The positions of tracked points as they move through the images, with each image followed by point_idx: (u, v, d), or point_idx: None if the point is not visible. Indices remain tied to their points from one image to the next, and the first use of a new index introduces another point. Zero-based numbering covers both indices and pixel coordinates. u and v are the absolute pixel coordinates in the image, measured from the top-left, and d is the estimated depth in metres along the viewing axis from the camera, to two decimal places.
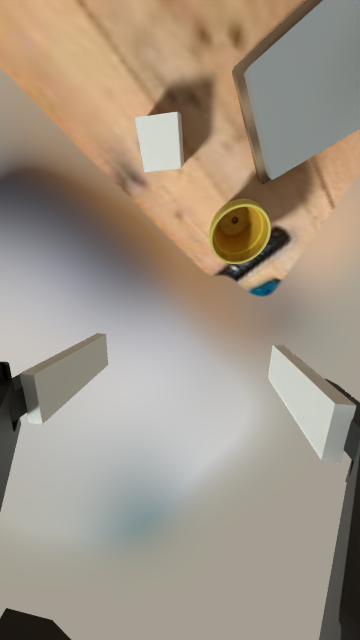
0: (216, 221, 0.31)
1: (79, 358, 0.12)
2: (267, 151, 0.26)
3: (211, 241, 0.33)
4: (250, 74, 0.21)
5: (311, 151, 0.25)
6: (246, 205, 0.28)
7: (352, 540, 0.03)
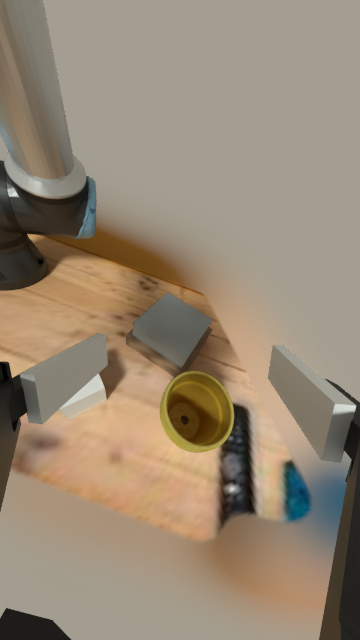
0: (164, 402, 0.25)
1: (79, 358, 0.12)
2: (170, 346, 0.33)
3: (173, 429, 0.23)
4: (136, 324, 0.35)
5: (196, 337, 0.36)
6: (182, 374, 0.28)
7: (352, 540, 0.03)
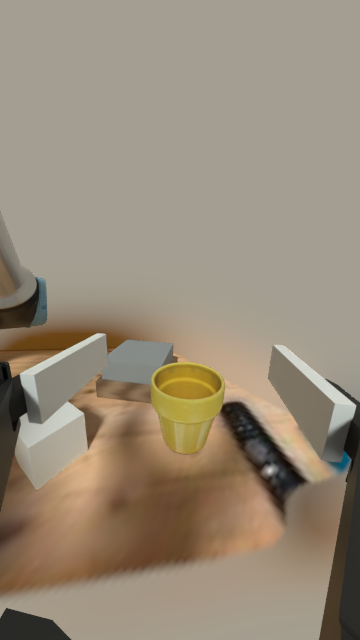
0: (153, 384, 0.24)
1: (79, 358, 0.12)
2: (142, 364, 0.34)
3: (170, 396, 0.22)
4: None
5: (164, 354, 0.39)
6: (162, 367, 0.29)
7: (352, 540, 0.03)
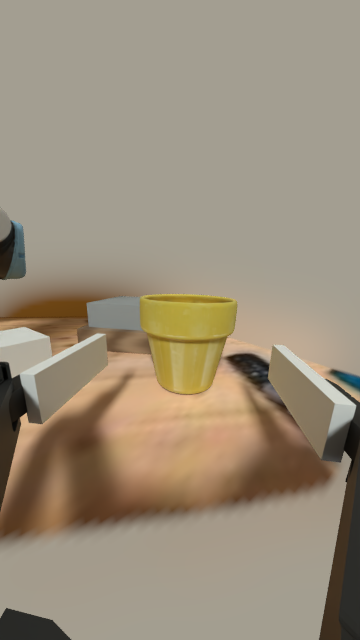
0: (142, 298, 0.18)
1: (79, 358, 0.12)
2: (135, 305, 0.29)
3: (164, 301, 0.16)
4: (90, 303, 0.30)
5: None
6: (155, 295, 0.23)
7: (352, 540, 0.03)
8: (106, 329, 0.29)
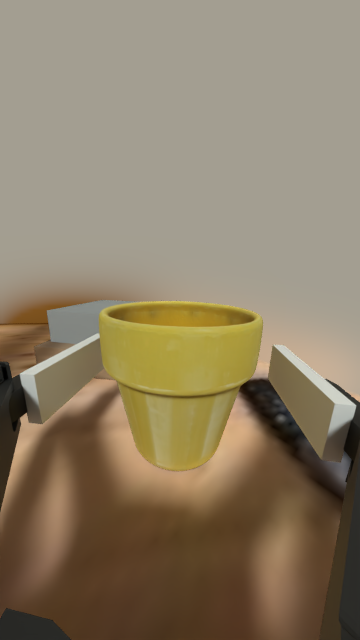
0: (101, 313, 0.11)
1: (79, 358, 0.12)
2: None
3: (132, 323, 0.08)
4: (51, 311, 0.22)
5: None
6: (134, 303, 0.15)
7: (352, 540, 0.03)
8: None
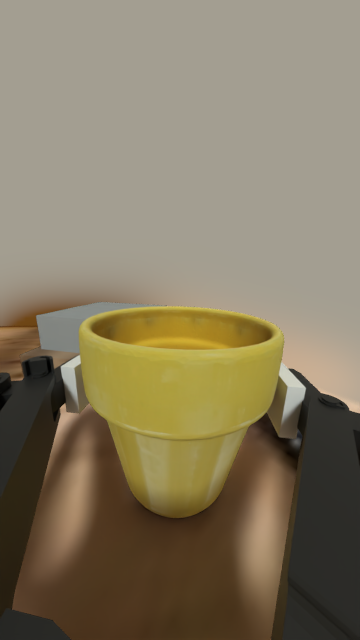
0: (83, 325, 0.09)
1: None
2: None
3: (116, 342, 0.06)
4: (41, 316, 0.20)
5: None
6: (127, 309, 0.13)
7: (299, 507, 0.04)
8: (63, 355, 0.20)
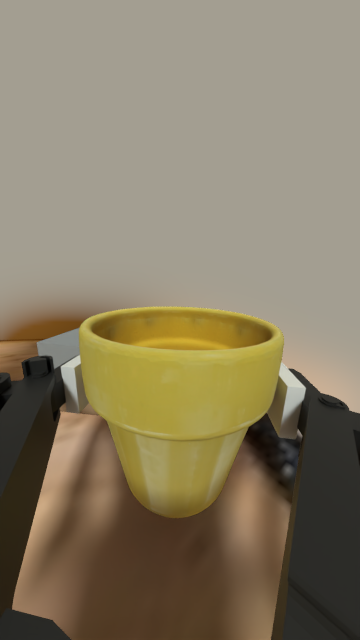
0: (83, 325, 0.09)
1: None
2: None
3: (116, 343, 0.06)
4: (41, 343, 0.21)
5: None
6: (127, 309, 0.13)
7: (299, 507, 0.04)
8: None
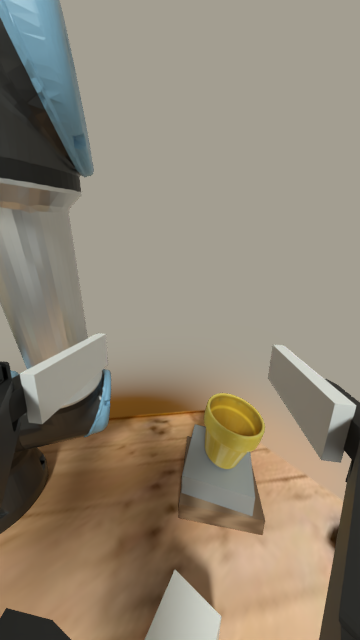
0: (210, 412, 0.32)
1: (79, 358, 0.12)
2: (231, 489, 0.30)
3: (224, 427, 0.30)
4: (185, 476, 0.32)
5: (248, 465, 0.34)
6: (214, 395, 0.37)
7: (352, 540, 0.03)
8: (206, 504, 0.31)
